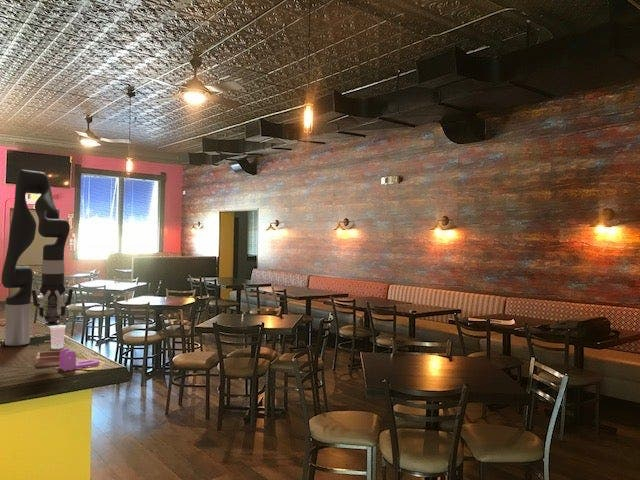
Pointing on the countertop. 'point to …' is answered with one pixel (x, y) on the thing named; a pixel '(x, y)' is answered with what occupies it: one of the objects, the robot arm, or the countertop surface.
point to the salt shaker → (52, 313)
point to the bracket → (73, 361)
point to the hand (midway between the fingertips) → (52, 316)
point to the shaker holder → (47, 358)
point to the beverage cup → (57, 336)
